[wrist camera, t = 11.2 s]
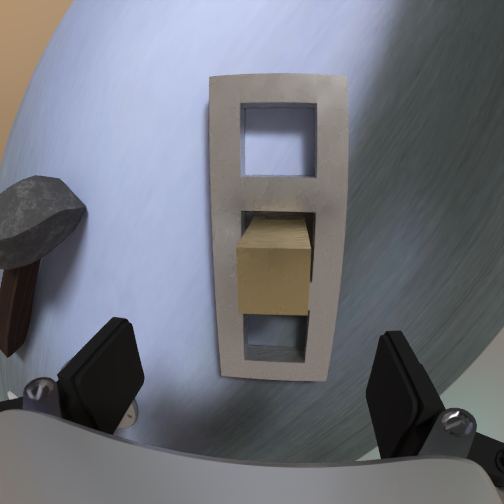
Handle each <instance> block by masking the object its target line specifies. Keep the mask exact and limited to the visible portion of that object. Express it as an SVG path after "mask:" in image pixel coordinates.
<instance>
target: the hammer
mask: <svg viewBox="0 0 504 504" xmlns="http://www.w3.org/2000/svg"><path fill="white" fill-rule="evenodd" d="M85 207H86V206H85V205H84V204H83V203H82V201H81V200H80V199H79V198H78V197H77V196H76V195H75V194H74V193H73V192H72V191H71V190H70V189H69V187H68V186H67V185H66V184H65V183H64V182H63V181H62V180H60V179H59V178H53V177H46V176H37V175H35V176H32V177H29V178H26V179H23V180H21V181H19V182H17V183H15V184H14V185H12V186H10V187H8V188H7V189H6V190H5V191H3V192H2V193H1V194H0V269H4V272H3V277H2V282H1V288H0V349H1V351H2V352H3V353H4V354H5V355H6V357H7V358H8V357H10V356H11V355H12V354H13V353H14V352H15V351H17V350H18V348H19V347H20V346H21V345H22V344H23V343H24V341H25V338H26V334H27V330H28V326H29V321H30V314H31V307H32V301H33V295H34V289H35V284H36V279H37V274H38V270H39V265H40V261H41V258H42V257H43V256H45V255H47V254H48V253H49V252H51V251H52V250H53V249H54V248H55V247H56V246H58V245H59V244H60V243H61V242H62V241H63V240H64V239H65V238H66V237H67V236H68V235H69V234H70V233H71V232H72V231H73V230H75V228H76V226H77V224H78V222H79V219H80V217H81V215H82V213H83V211H84V209H85Z"/></svg>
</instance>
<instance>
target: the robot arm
mask: <svg viewBox="0 0 504 504" xmlns="http://www.w3.org/2000/svg"><path fill="white" fill-rule="evenodd" d="M57 376H58V378H59V380H58V381H57V382H55V381H54V380H53V379H51V378H48V377H40V378H36V379H34V380H32V381H30V382H29V383H28V384H27V385H26V386H25V388H24V391H23V397H19V398H15V399H11V400H6V401H2V402H0V504H504V443H502V442H500V441H497V440H495V439H492V438H490V437H487V436H485V435H482V434H480V433H477V432H476V428H477V424H476V420H475V418H474V417H473V416H472V415H471V414H470V413H469V412H468V411H466V410H464V409H460V408H449V409H445V407H444V405H443V403H442V401H441V399H440V397H439V395H438V393H437V391H436V389H435V387H434V385H433V384H432V382H431V380H430V378H429V376H428V374H427V372H426V371H425V369H424V367H423V366H422V364H420V363H419V361H418V359H417V357H416V356H415V354H414V352H413V350H412V349H411V347H410V345H409V343H408V342H407V340H406V338H405V336H404V335H403V333H402V332H401V331H386V332H385V334H384V335H381V336H380V338H379V342H378V347H377V351H376V355H375V359H374V363H373V367H372V371H371V374H370V378H369V382H368V385H367V389H366V400H367V404H368V407H369V411H370V415H371V419H372V423H373V427H374V431H375V435H376V440H377V444H378V448H379V452H380V457H381V459H377V460H367V461H354V462H336V463H272V462H256V461H243V460H233V459H224V458H217V457H209V456H203V455H196V454H190V453H185V452H179V451H174V450H169V449H165V448H160V447H156V446H151V445H147V444H143V443H139V442H135V441H131V440H128V439H124V438H121V437H117V436H114V433H115V432H116V430H117V428H127V427H130V426H131V425H133V423H134V422H135V420H136V418H137V416H138V410H137V405H136V403H135V401H134V398H135V397H136V395H137V393H138V392H139V390H140V388H141V387H142V385H143V383H144V373H143V369H142V365H141V361H140V357H139V352H138V348H137V344H136V339H135V335H134V330H133V326H132V324H131V323H129V321H128V320H127V319H125V318H118V317H113V318H111V319H110V320H109V321H108V322H107V323H106V324H105V325H104V326H103V327H102V328H101V329H100V330H99V332H98V333H97V334H96V335H95V336H94V337H93V338H92V339H91V340H90V341H89V342H88V343H87V344H86V345H85V346H84V347H83V348H82V349H81V350H80V351H79V352H78V353H77V354H76V355H75V356H74V357H73V358H72V359H71V360H69V361H68V362H66V364H65V365H64V366H63V367H62V369H61V371H60V372H59V373H58V374H57Z"/></svg>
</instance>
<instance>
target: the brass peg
mask: <svg viewBox="0 0 504 504" xmlns="http://www.w3.org/2000/svg"><path fill="white" fill-rule="evenodd" d="M236 261H237V284H238V305H239V313H243V314H269V315H308V303H309V286H310V265H311V246H310V241H309V237H308V232H307V227H306V223H305V219H304V216H254V218H253V220H252V221H251V223H250V225H249V226H248V228H247V230H246V232H245V233H244V235H243V237H242V238H241V240H240V242H239V243H238V245H237V247H236Z"/></svg>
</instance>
